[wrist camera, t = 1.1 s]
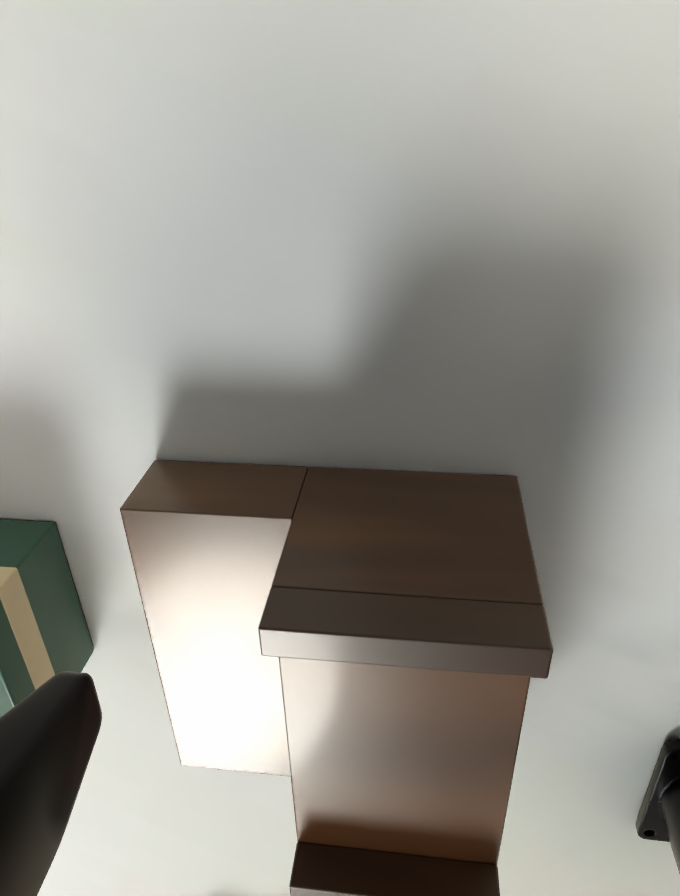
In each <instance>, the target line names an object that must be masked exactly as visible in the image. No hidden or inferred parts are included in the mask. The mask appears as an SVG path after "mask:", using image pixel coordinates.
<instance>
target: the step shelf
mask: <svg viewBox="0 0 680 896" xmlns="http://www.w3.org/2000/svg"><path fill="white" fill-rule="evenodd" d="M120 511H121V515H122V520H123V524H124V528H125V532H126V536H127V541H128V545H129V549H130V553H131V557H132V561H133V566H134V570H135V574H136V578H137V582H138V586H139V591H140V595H141V599H142V603H143V607H144V611H145V616H146V620H147V624H148V628H149V632H150V637H151V641H152V645H153V649H154V653H155V657H156V662H157V666H158V670H159V674H160V678H161V682H162V687H163V691H164V695H165V699H166V703H167V708H168V712H169V716H170V720H171V724H172V728H173V733H174V737H175V741H176V745H177V749H178V753H179V758H180V762H181V765H186V766H196V767H205V768H215V769H225V770H235V771H244V772H254V773H264V774H274V775H283V776H291V782H292V792H293V801H294V811H295V821H296V830H297V840H298V843H297V846H296V851H295V857H294V863H293V869H292V874H291V880H290V894H291V896H500V891H499V878H498V867H497V861H498V856H499V850H500V845H501V839H502V834H503V828H504V822H505V817H506V811H507V806H508V800H509V794H510V789H511V783H512V778H513V772H514V766H515V761H516V755H517V750H518V744H519V739H520V733H521V727H522V722H523V716H524V711H525V705H526V699H527V694H528V688H529V683H530V677H533V678H547V677H548V674H549V668H550V663H551V658H552V653H553V647H552V642H551V637H550V632H549V628H548V623H547V618H546V613H545V609H544V606H543V599H542V594H541V590H540V585H539V580H538V575H537V570H536V566H535V561H534V556H533V551H532V547H531V542H530V537H529V532H528V527H527V523H526V518H525V513H524V508H523V503H522V499H521V494H520V489H519V484H518V480H517V477H516V476H496V475H474V474H451V473H429V472H406V471H383V470H361V469H338V468H316V467H309V468H308V467H298V466H276V465H253V464H231V463H208V462H186V461H163V460H155V461H154V462H153V464H152V465H151V466H150V468H149V469H148V471H147V472H146V473H145V475H144V476H143V477H142V479H141V480H140V482H139V483H138V484H137V486H136V487H135V489H134V490H133V491H132V493H131V494H130V496H129V497H128V498H127V500H126V501H125V503H124V504H123V505H122V507H121V508H120Z"/></svg>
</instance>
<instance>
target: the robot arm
mask: <svg viewBox="0 0 680 896" xmlns="http://www.w3.org/2000/svg"><path fill="white" fill-rule="evenodd" d="M101 720H102V712H101V707H100V704H99V700H98V697H97V693H96V689H95V686H94V682H93V679H92V677H91V676H90V675H89V674H87V673H80V672H70V671H62V672H60V673H57V674H56V675H54V676H53V677H51V678H50V679H49V680H48V681H46V682H45V683H44V684H42V685H41V686H40V687H39V688H37V689H36V690H35V691H33V692H32V693H31V694H30V695H28V696H27V697H26V698H24V699H23V700H22V701H21V702H19V703H18V704H17V705H15V706H14V707H13V708H12V709H10V710H9V711H8V712H6V713H5V714H4V715H3V716H1V717H0V896H37V894H38V892H39V890H40V888H41V885H42V883H43V881H44V879H45V877H46V874H47V872H48V870H49V868H50V866H51V863H52V861H53V859H54V857H55V854H56V852H57V850H58V847H59V845H60V842H61V840H62V837H63V834H64V832H65V829H66V826H67V824H68V821H69V818H70V815H71V812H72V809H73V806H74V803H75V800H76V797H77V794H78V791H79V788H80V786H81V783H82V780H83V777H84V774H85V771H86V768H87V765H88V762H89V759H90V756H91V753H92V750H93V748H94V745H95V742H96V739H97V736H98V733H99V730H100V726H101ZM636 829H637V832H638V835H639V836H640V837H641V838H643V839H649V840H658V841H667V842H670V844H671V847H672V850H673V853H674V857H675V860H676V863H677V866H678V870H679V873H680V740H672V741H669V742H667V743H665V744H664V746H663V748H662V750H661V753H660V756H659V759H658V762H657V764H656V767H655V770H654V773H653V776H652V778H651V781H650V784H649V787H648V790H647V793H646V795H645V798H644V801H643V804H642V807H641V809H640V812H639V815H638V818H637V821H636Z"/></svg>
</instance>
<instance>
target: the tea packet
mask: <svg viewBox="0 0 680 896" xmlns="http://www.w3.org/2000/svg"><path fill="white" fill-rule="evenodd" d="M93 650H94V649H93V645H92V642H91V639H90V636H89V632H88V629H87V626H86V622H85V619H84V616H83V613H82V609H81V606H80V603H79V599H78V596H77V593H76V590H75V586H74V583H73V580H72V577H71V573H70V570H69V567H68V563H67V560H66V557H65V554H64V550H63V547H62V544H61V540H60V537H59V534H58V531H57V527H56V524H55V523H54V522H42V521H24V520H7V519H0V717H1V716H3V715H4V714H5V713H6V712H8V711H9V710H10V709H12V708H13V707H14V706H15V705H17V704H18V703H19V702H21V701H22V700H23V699H24V698H26V697H27V696H28V695H30V694H31V693H32V692H33V691H35V690H36V689H37V688H39V687H40V686H41V685H42V684H44V683H45V682H46V681H48V680H49V679H50V678H51V677H53V676H54V675H56V674H57V673H60V672H62V671H70V672H80V673H81V671H82V670H83V668H84V666H85V665H86V663H87V661H88V659H89V658H90V656H91V654H92V653H93Z"/></svg>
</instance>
